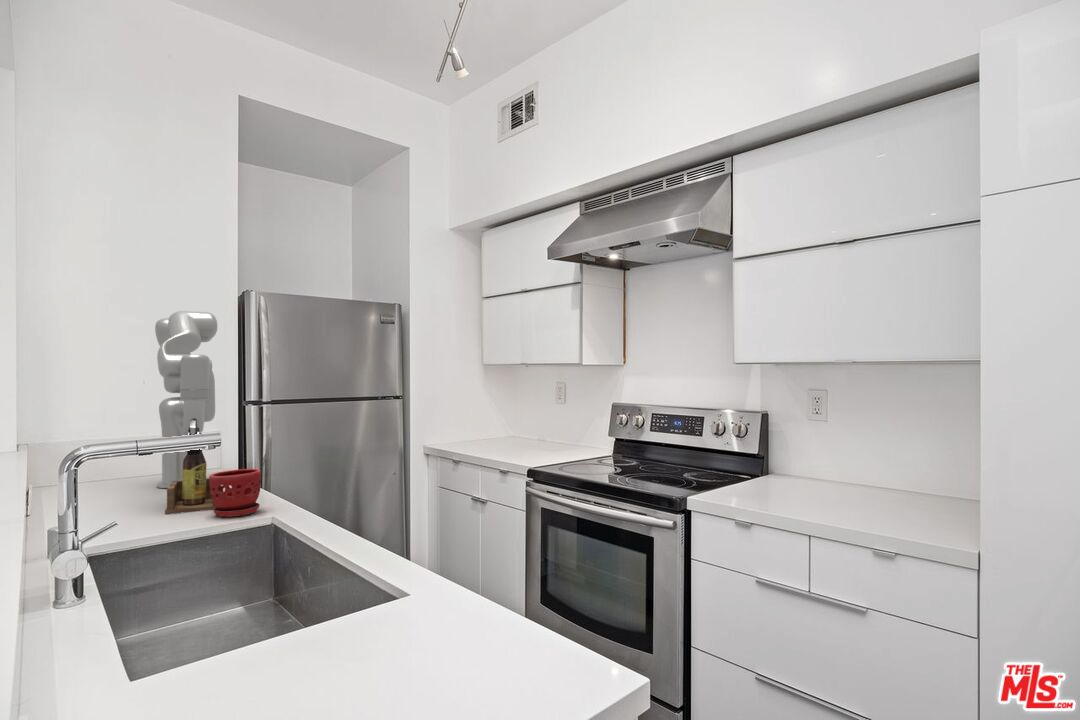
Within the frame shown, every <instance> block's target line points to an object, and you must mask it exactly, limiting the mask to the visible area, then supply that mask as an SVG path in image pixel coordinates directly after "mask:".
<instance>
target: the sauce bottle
mask: <svg viewBox="0 0 1080 720" xmlns="http://www.w3.org/2000/svg"><path fill="white" fill-rule="evenodd" d="M206 479H207V460H206V458H205V455H204V453H203V449H202V450H200V454H193V455H188V454H187V455H186V457H185V458H184V460H183V472H182V499H183V504H184V505H195V504H201V503H204V502H205V497H206Z"/></svg>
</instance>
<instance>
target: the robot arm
mask: <svg viewBox="0 0 1080 720" xmlns="http://www.w3.org/2000/svg"><path fill="white" fill-rule="evenodd" d="M154 332H155V337H156V341H157V344H158V346H159V348H158V350H157V357H156V359H157V360H156V361H157V369H158V372H159V375H160V376H161V377H162V378H163V387H164V389H165V391H166V392H167V393H171V394H179V395H180V396H174V397H173V396H172V397H169V398H165V399H162V400H161V402H160V403H159V405H158V411H159V412H158V413H159V418H160V426H161V427H160V428H161V438H162V437H172V436H182V435H195V434H201V435H202V433H203V432H204V426H205V423H207V422H211V421H213V419H214V418H215V415H216V386H215V385H216V384H215V382H216V380H215V374H214V372H213V361H212V360H211V359H210V357H209V356H207V355H205V354H191V353H193V352H196V351H197V350H198V349H199V347H200V346H201V344H202V343H208V342H210V341H211V340H213V338H214V337H215V336H216V334H217V332H218V320H217V318H216V316H215V315H214V314H213V313H212V312H208V311H190V310H189V311H188V310H182V311H181V310H180V311H176V312H173V313H172V314H170V315H169V317H164V318H160V319H159V320H156V323H155V326H154ZM187 454H188V455H193V454H200V449H199V450H190V451H185V452H174V453H164V454H162V453H161V482H160V481H159V482H157V483H156V488H159V489H168V487H169V486H170V484H171V483H172V481H182V472H183V460H184V458H185V457H186V455H187Z"/></svg>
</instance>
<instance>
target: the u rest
mask: <svg viewBox="0 0 1080 720" xmlns="http://www.w3.org/2000/svg"><path fill="white" fill-rule="evenodd" d="M215 508H217V507H216V506H215V504H214V502H213V500H212V497H211V493H210V484H209V478H206V497H205V502H204V503H201V504H195V505H184V504H183V499H182V481H172V483H171V484H170V486H169V487H168V488H166V508H165V510H164V515H172V514H171V513H173V514H182V513H181V512H183V513H191V512H192V511H193V512H201V511H200V510H202V511H209V509H212V510H214V509H215ZM193 512H192V513H193Z"/></svg>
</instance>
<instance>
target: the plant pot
mask: <svg viewBox="0 0 1080 720" xmlns="http://www.w3.org/2000/svg"><path fill="white" fill-rule="evenodd" d="M261 471H262V470H260V469H259V468H241V469H240V468H239V469H233V470H232V469H230V470H226V471H220V472H219V471H218V472H215V473H212V474H210V475H209V484H210V493H211V497H212V500H213V502H214V504H215V506H216V507H217V508H215V509H213V513H214V514H215V515H216V516H218V517H221V518H230V517H231V518H232V517H234V516H235V517H240V516H241V515H242V516H246V514H247V515H251V514H250V513H252V514H254V512H256V511H257V510H258V509H259V508H260V503H258V502H257V500H258V498H259V496H260V492H261V487H262V486H261V484H262V483H261V481H262V472H261ZM230 486H231V487H230Z"/></svg>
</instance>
